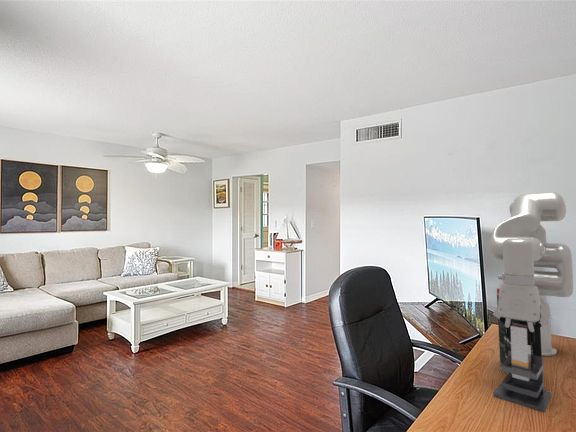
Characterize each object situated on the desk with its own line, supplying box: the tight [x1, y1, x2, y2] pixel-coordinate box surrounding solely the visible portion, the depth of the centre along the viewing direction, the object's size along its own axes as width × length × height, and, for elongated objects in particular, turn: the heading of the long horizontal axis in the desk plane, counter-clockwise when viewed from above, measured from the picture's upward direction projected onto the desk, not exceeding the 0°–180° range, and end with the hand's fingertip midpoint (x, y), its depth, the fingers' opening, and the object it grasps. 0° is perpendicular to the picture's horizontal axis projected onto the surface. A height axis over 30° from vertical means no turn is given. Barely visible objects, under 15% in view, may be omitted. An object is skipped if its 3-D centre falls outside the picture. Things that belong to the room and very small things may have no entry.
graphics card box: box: [496, 287, 543, 365], centre depth 113 cm, size 17×7×27 cm, turn 168°
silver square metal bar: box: [511, 323, 531, 382], centre depth 98 cm, size 4×4×15 cm
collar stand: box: [493, 350, 553, 413], centre depth 98 cm, size 12×12×11 cm
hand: (520, 341), depth 98 cm, fingers closed on silver square metal bar, 4 cm apart
